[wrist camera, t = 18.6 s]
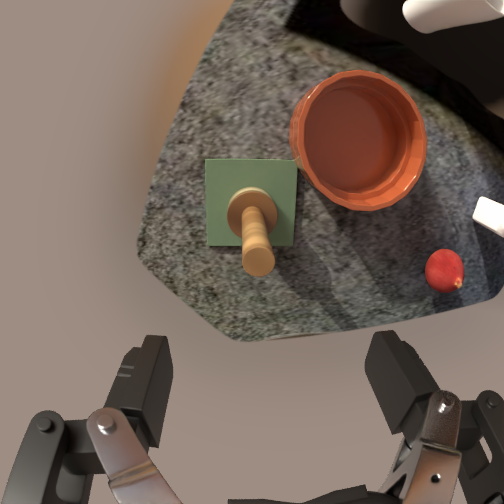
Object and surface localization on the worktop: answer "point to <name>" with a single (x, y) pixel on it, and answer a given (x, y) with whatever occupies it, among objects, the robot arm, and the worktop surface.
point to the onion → (444, 271)
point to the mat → (249, 175)
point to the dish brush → (254, 228)
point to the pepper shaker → (490, 215)
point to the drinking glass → (450, 13)
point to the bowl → (359, 140)
